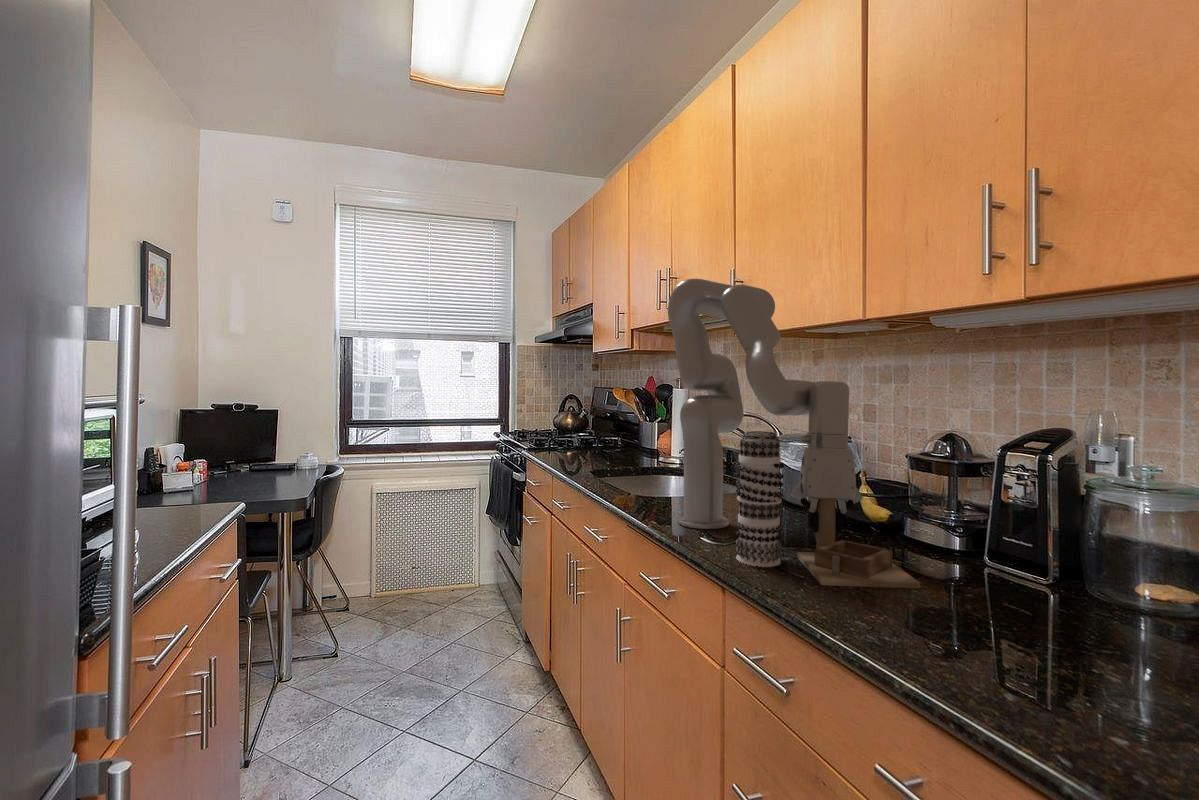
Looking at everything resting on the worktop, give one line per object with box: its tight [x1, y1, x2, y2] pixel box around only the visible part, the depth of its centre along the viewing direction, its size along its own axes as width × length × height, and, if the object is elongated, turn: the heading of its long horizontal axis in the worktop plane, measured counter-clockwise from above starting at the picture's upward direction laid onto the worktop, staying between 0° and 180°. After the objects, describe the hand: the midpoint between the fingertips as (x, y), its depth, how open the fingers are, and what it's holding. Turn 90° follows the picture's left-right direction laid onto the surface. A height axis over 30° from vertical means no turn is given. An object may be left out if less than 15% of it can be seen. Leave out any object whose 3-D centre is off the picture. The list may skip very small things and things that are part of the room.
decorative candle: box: [734, 430, 785, 568], centre depth 109 cm, size 9×9×25 cm
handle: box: [814, 499, 837, 549], centre depth 115 cm, size 5×6×15 cm
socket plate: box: [796, 539, 921, 590], centre depth 103 cm, size 16×16×4 cm
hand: (825, 530), depth 115 cm, fingers closed on handle, 4 cm apart
